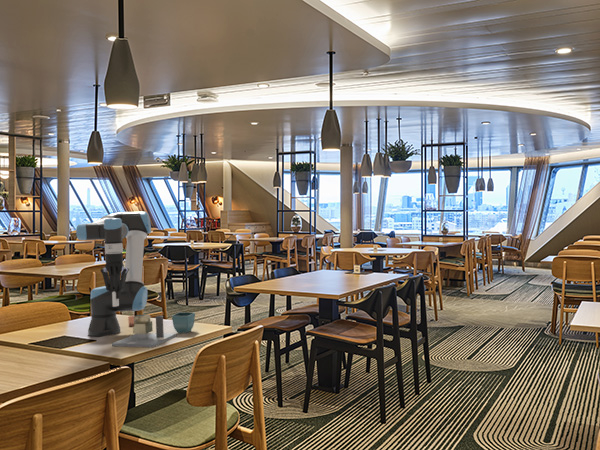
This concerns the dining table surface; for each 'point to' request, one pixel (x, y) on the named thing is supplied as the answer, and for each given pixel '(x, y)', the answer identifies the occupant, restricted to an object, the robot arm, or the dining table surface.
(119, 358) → the dining table surface
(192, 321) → the flower pot
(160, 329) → the grey flat base fixture
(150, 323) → the beige stepped block
